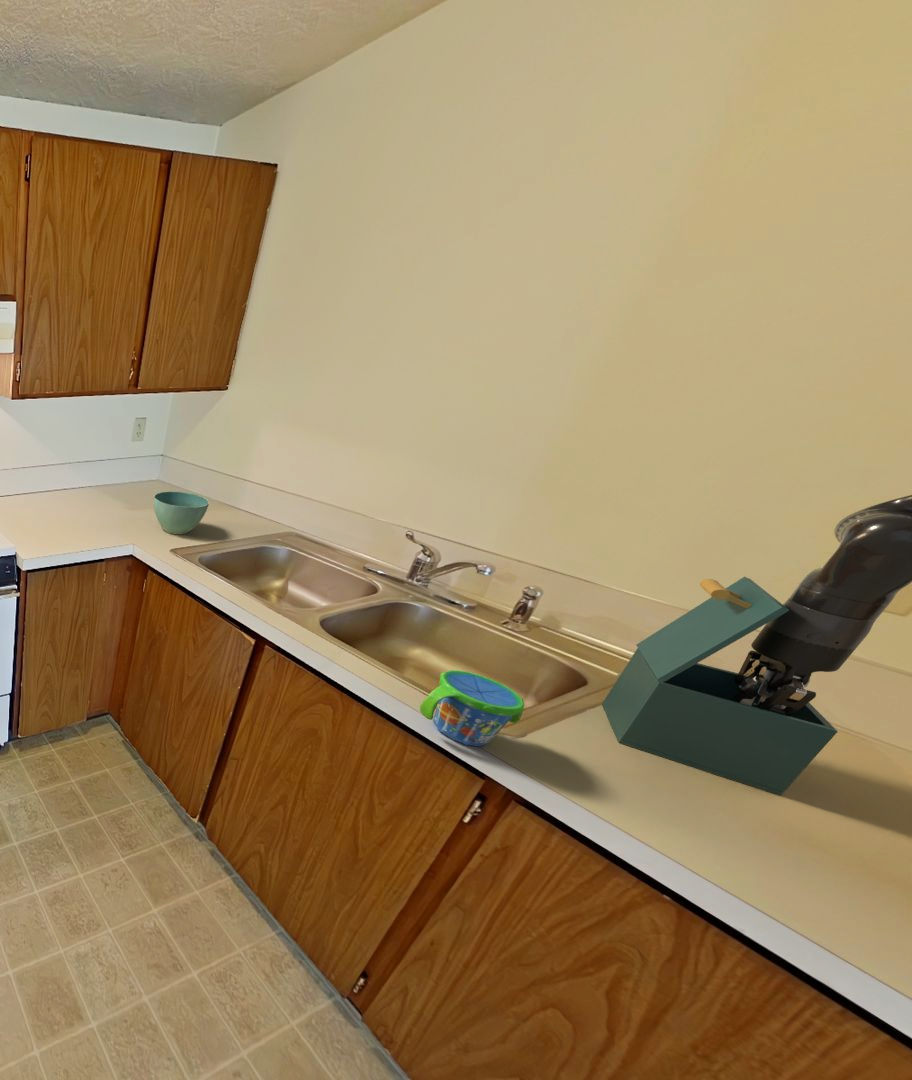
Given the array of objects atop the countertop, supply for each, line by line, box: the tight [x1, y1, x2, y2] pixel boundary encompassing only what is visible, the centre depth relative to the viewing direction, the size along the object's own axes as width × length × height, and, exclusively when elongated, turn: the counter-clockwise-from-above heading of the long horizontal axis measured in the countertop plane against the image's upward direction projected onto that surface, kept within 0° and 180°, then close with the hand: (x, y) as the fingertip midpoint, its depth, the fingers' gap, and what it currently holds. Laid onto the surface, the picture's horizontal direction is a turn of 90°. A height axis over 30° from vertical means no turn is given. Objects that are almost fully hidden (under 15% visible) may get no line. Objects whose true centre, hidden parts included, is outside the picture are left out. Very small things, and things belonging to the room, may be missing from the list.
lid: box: [635, 576, 789, 682], centre depth 85 cm, size 18×14×5 cm
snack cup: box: [419, 669, 525, 747], centre depth 90 cm, size 16×10×10 cm
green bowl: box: [153, 490, 210, 535], centre depth 182 cm, size 18×18×12 cm
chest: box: [601, 647, 839, 797], centre depth 87 cm, size 17×14×13 cm
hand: (743, 719), depth 84 cm, fingers closed on eye dropper bottle, 4 cm apart
